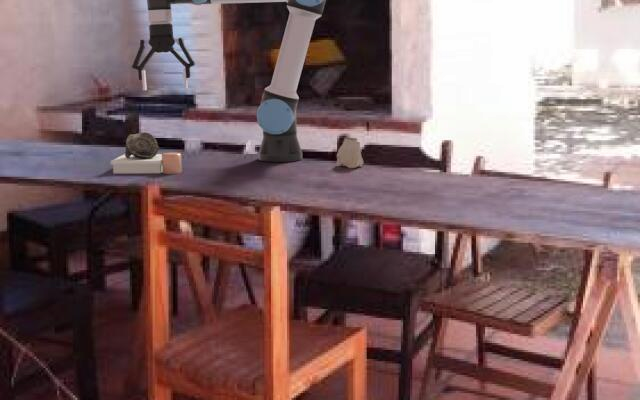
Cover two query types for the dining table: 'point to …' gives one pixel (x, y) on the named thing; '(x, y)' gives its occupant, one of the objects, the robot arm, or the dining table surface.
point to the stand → (137, 164)
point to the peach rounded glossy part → (171, 163)
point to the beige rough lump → (350, 153)
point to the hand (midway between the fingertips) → (165, 89)
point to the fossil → (141, 146)
